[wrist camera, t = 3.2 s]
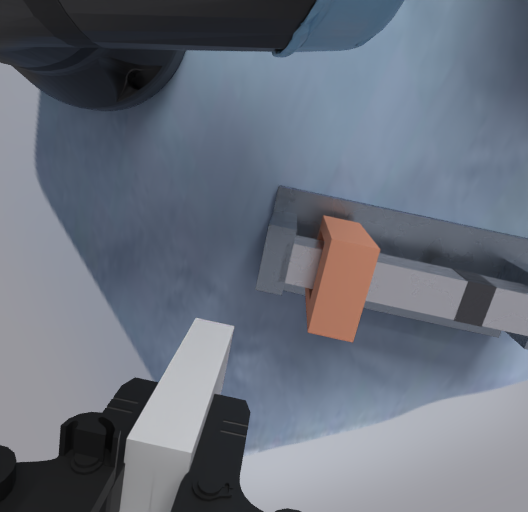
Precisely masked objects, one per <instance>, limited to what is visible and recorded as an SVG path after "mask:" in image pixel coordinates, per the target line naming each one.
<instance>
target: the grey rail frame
mask: <svg viewBox="0 0 528 512" xmlns="http://www.w3.org/2000/svg"><path fill="white" fill-rule="evenodd" d="M323 215H325V216H329V217H334V218H339V219H343V220H348V221H353V222H357V223H360V224H361V225H362V227H363V228H364V229H365V230H366V232H367V233H368V234H369V235H370V237H371V238H372V239H373V241H374V242H375V243H376V244H377V246H378V247H379V248H380V249H381V250H380V253H379V256H378V260H377V263H376V266H375V270H374V273H373V277H372V280H371V283H370V287H369V290H368V294H367V297H366V300H365V304H364V307H363V308H365V309H370V310H374V311H379V312H384V313H388V314H393V315H397V316H402V317H406V318H411V319H416V320H420V321H425V322H429V323H434V324H438V325H443V326H448V327H452V328H457V329H461V330H466V331H470V332H475V333H480V334H484V335H489V336H493V337H498V338H499V335H500V333H501V330H502V331H505V332H506V333H507V334H509V335H510V336H511V337H512V338H513V339H514V340H515V341H516V342H517V343H519V344H520V345H521V346H522V347H523V348H524V349H528V238H523V237H518V236H514V235H509V234H504V233H500V232H495V231H490V230H486V229H481V228H476V227H472V226H467V225H462V224H458V223H453V222H448V221H444V220H439V219H434V218H430V217H425V216H420V215H416V214H411V213H406V212H402V211H397V210H392V209H388V208H383V207H378V206H374V205H369V204H364V203H360V202H355V201H350V200H346V199H341V198H336V197H332V196H327V195H322V194H318V193H313V192H308V191H304V190H299V189H294V188H290V187H285V186H280V185H279V188H278V192H277V197H276V202H275V206H274V211H273V214H272V217H271V220H270V223H269V227H268V231H267V236H266V241H265V246H264V250H263V255H262V260H261V265H260V269H259V274H258V279H257V284H256V288H255V290H259V291H263V292H268V293H272V294H277V295H282V293H283V291H288V292H292V293H297V294H301V295H305V288H310V289H313V287H314V283H315V279H316V275H317V271H318V267H319V263H320V259H321V255H322V251H323V247H324V243H325V242H324V241H321V240H317V237H318V233H319V229H320V225H321V221H322V217H323Z"/></svg>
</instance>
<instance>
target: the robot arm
mask: <svg viewBox="0 0 528 512" xmlns="http://www.w3.org/2000/svg"><path fill="white" fill-rule="evenodd" d="M403 2H404V0H0V62H1V63H4V64H8V65H12V66H13V67H14V68H15V69H16V70H17V71H18V72H20V73H21V74H22V75H23V76H24V77H26V78H27V79H28V80H29V81H30V82H31V83H32V84H34V85H35V86H36V87H37V88H39V89H40V90H42V91H43V92H45V93H46V94H48V95H49V96H51V97H53V98H55V99H57V100H59V101H62V102H64V103H67V104H70V105H73V106H77V107H81V108H87V109H93V110H101V111H113V110H121V109H126V108H129V107H132V106H135V105H138V104H140V103H142V102H144V101H146V100H147V99H149V98H150V97H152V96H153V95H155V94H156V93H157V92H158V91H159V90H160V89H162V88H163V87H164V85H165V84H166V83H167V82H168V81H169V80H170V78H171V77H172V76H173V74H174V73H175V71H176V69H177V68H178V66H179V64H180V62H181V60H182V58H183V55H184V53H185V50H206V51H267V52H272V55H273V56H275V57H287V56H289V55H291V54H293V53H294V52H310V51H341V50H349V49H353V48H357V47H359V46H362V45H363V44H365V43H366V42H367V41H369V40H370V39H371V38H373V37H374V36H375V35H376V34H378V33H379V32H380V31H381V30H383V29H384V28H385V26H386V25H387V24H388V23H389V22H390V21H391V20H392V18H393V17H394V15H395V14H396V12H397V11H398V9H399V8H400V6H401V5H402V3H403ZM233 331H234V326H231V325H227V324H222V323H217V322H213V321H208V320H203V319H199V318H196V319H195V320H194V322H193V324H192V326H191V327H190V329H189V331H188V333H187V334H186V336H185V338H184V339H183V341H182V343H181V345H180V346H179V348H178V350H177V352H176V353H175V355H174V357H173V359H172V360H171V362H170V364H169V366H168V367H167V369H166V371H165V373H164V374H163V376H162V378H161V380H160V381H159V383H158V382H154V381H149V380H144V379H140V378H133V379H132V380H130V381H129V382H127V383H125V384H123V385H122V386H121V387H120V389H119V390H118V392H117V393H116V394H115V396H114V398H113V399H112V400H111V401H110V403H109V404H108V405H107V408H105V410H104V411H103V413H98V412H89V413H82V414H79V415H76V416H74V417H72V418H69V419H68V420H67V421H66V422H64V423H63V424H62V425H61V430H60V445H59V456H58V457H57V458H56V459H52V460H47V461H39V462H19V463H16V457H15V454H14V452H13V451H11V450H10V449H9V448H8V447H5V446H1V445H0V512H263V511H261V510H259V509H258V508H257V507H255V506H254V505H252V504H251V503H250V502H249V501H248V499H247V498H246V497H245V496H244V494H243V492H242V490H241V487H240V470H241V465H242V459H243V453H244V447H245V441H246V435H247V430H248V424H249V418H250V410H249V408H248V405H247V403H246V400H241V399H237V398H232V397H227V396H223V395H220V394H221V391H222V387H223V382H224V377H225V372H226V367H227V362H228V357H229V351H230V346H231V341H232V336H233ZM275 512H301V511H299V510H293V509H282V510H277V511H275Z"/></svg>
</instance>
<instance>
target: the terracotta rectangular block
mask: <svg viewBox="0 0 528 512" xmlns="http://www.w3.org/2000/svg"><path fill="white" fill-rule="evenodd" d="M317 240H321V241H324V242H325V243H324V247H323V251H322V255H321V259H320V263H319V267H318V271H317V275H316V279H315V283H314V287H313V289H310V288H305V297H306V313H307V329H308V333H312V334H317V335H321V336H326V337H330V338H335V339H339V340H344V341H348V342H353V341H354V337H355V334H356V331H357V327H358V324H359V321H360V317H361V314H362V310H363V307H364V304H365V300H366V297H367V294H368V290H369V287H370V283H371V280H372V277H373V273H374V270H375V266H376V263H377V260H378V256H379V253H380V250H381V249H380V248H379V247H378V246H377V244H376V243H375V242H374V241H373V239H372V238H371V237H370V235H369V234H368V233H367V232H366V230H365V229H364V228H363V227H362V225H361V224H360V223H357V222H353V221H348V220H343V219H339V218H334V217H329V216H325V215H323V217H322V221H321V225H320V229H319V233H318V237H317Z"/></svg>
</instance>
